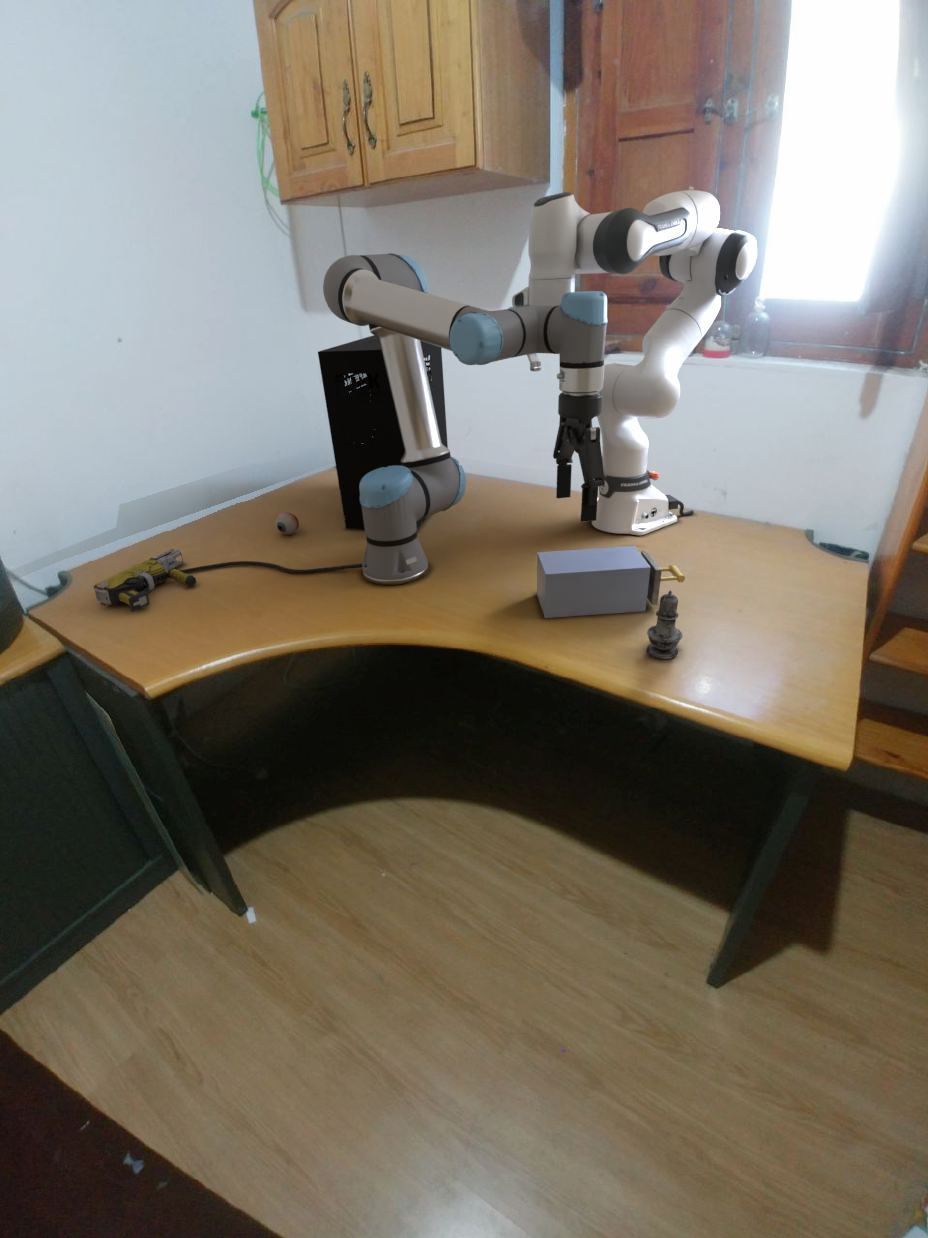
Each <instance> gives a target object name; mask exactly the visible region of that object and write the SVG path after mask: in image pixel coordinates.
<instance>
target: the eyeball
mask: <svg viewBox="0 0 928 1238" xmlns="http://www.w3.org/2000/svg"><path fill="white" fill-rule="evenodd" d="M299 525H300V522H299V519H298V517H297V516H296V515H295V514H294V513H292V512H287V511H286V512H282V513H280V514H279V515H278V516H277V517H276V520H275V527H276V529H277V530H278V531H279V532H280V533H281V534H282V535H285V536H286V535H287V536H289V535H293V534H295V533H296V532H297V531H298V529H299Z"/></svg>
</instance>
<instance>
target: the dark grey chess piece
mask: <svg viewBox="0 0 928 1238" xmlns="http://www.w3.org/2000/svg"><path fill="white" fill-rule="evenodd" d="M678 604H679V599H678V597H677V595H675V594H673V591H672V590H671V589H670V590H669V591H668V592H667V593H666V594H663V595H661V597H660V600H659V605H658V607H659V608H658V610H657V611H656V612H655V616H656V617H657V619H656V624H655V625H651V626H650V627H649V628H648V629H647V631H646V634H647V636H648V640H649V642H650V643H649V644H648V645H647V647H646V651H647V653H648V654H649V655H651V656H652V657H654V658H657V659H661V660H669V659H674V658H675V657H677V656H678V655H679V650H678V648H677V646H678V644H679V643H680V641H681V640H682V638H683V633H682V631H681V630H680V629H678V628H677V627H676V621H677V619H678V618H679V613H678V611H677V610H678Z"/></svg>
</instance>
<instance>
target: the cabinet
mask: <svg viewBox="0 0 928 1238" xmlns="http://www.w3.org/2000/svg"><path fill="white" fill-rule="evenodd" d="M536 558H537V559H536V597H537V598H538V602H539V605H540V608H541V611H542V613H543V614H542V615H543V617H544V619H551V618H552V619H554V618H555V619H556V618H568V617H581V616H582V617H583V616H594V615H595V616H597V615H612V614H624V613H625V614H626V613H640V612H646V609H647V601H648V599H647V594H648V585H649V576H650V568H651V567H650V566H649V565H648V563H647V562H646V561H645V559H644V558H643V557H642V555H641V552H640V551H639V550H638V549H637V548H636V546H635V545H625V546H613V547H599V548H598V547H597V548H585V549H583V548H582V549H570V550H569V549H567V550H554V551H539V552H537V553H536Z"/></svg>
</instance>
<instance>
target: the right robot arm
mask: <svg viewBox="0 0 928 1238" xmlns="http://www.w3.org/2000/svg"><path fill="white" fill-rule="evenodd" d="M720 210H721V209H720V204H719V202H718V200H717V198H716V197H715V196H714V195H713V194H712V193H710V192H708V191H704V190H695V189H687V190H679V191H673V192H672V191H671V192H669V193H667V194H663V195H660V196H658V197H656V198H654V199H653V200H651V201H649V202H648V203H647V204H646V205H645V207H644V208H643V209H642V211H641V210H639V209H636V208H633V207H626V208H621V209H618V210H614V211H609V212H601V213H593V214H591V213H590V212H588V211H587V210H585V209H584V208H582V207H581V206H580V205H579V204H578V202H577V201H576V199H575V195H574V193H572V192H569V191H568V192H559V193H555V194H552V195H551V194H550V195H545V196H543V197H541V198H539V199H536V201H535V202H534V203H533V205H532V207H531V212H530V216H529V224H528V225H529V226H528V245H527V247H528V248H527V249H528V250H527V251H528V258H529V262H530V269H529V273H528V282H527V283H528V284H527V285H528V286H526V287H524V288H523V289H522V290H520V291H518V292H517V293H515V294H514V295H512V297H511V304H512V307H513V306H520V305H530V306H559V305H560V304H561V298H562V296H563V294H565V293H568V292H576V275H587V274H589V275H590V274H593V275H594V274H619V275H626V274H629V273H631V272H633V271H635V270H636V269H637V268H638V267H639V266H640V265H641V264H643V263H644V261H645V260H647V258H649V257H650V256H656V257H658V265H659V270H660V273H661V275H662V276H663V277H664V278H666V279H668V280H669V281H673V282H675V283H677V282H681V283H684V285H683V289H682V290H681V292H680V294H679V295H677V297H676V298H675V299H674V300H673V301H671V303H670V304H669V305H668V307H666V308H665V310H664V311H663V312H662V313H661V314H660V316H659V317H658V318H657V319H656V321H655V322H654V323H653V324H652V326H651V327H650V329H649V330H648V331H647V332H646V333H645V335H644V336H643V339H642V343H641V344H642V345H641V347H642V353H643V356H644V357H643V359H642V360H640V362H639V363H638V364H635V365H631V364H622V363H607V364H604V380H603V388H602V390H600V391H599V392H600V393H601V394H602V407H601V414H600V415H599V416H597V417H596V418H597V422H598V425H599V427H600V436H601V441H602V442H601V443H602V444H601V445H602V446H601V453H602V462H603V471H604V479H605V485H604V486H598V500H597V516H596V520H595V521H591V525H592V526H593V527H594V528H595V529H597V530H599V531H601V532H605V533H611V534H623V535H625V534H626V535H632V536H633V535H634V536H645V535H646V534H650V533H652V532H654V531H657V530H660V529H662V528H665V527H668V526H670V525H672V524H675V523H677V522H678V516H677V515H676V514H675V513H674V512H672V511H670V510H677V509H679V511H678V513H679V515H680V516H682V517H687V516H690V515H694V510H693V509H691V510H688V511H686V512H684V508H685V504H684V503H683V502H682V501H680V500H679V499H677V498H676V497H674V496H673V495H671V494H664V493H663V492H661V491H660V490H659V489H658V488H656V487H655V486H654V485H652V483H651V480H653V481H658V479H659V478H660V473H659V472H657V471H654V470H651V471H649V470H648V469H647V466H648V458H649V457H648V456H649V447H650V442H649V437H648V435H647V434H646V433H645V432H644V431H643V429H642V428H641V426H640V423H639V421H638V419H643V420H651V419H663V418H666V417H668V416H669V415H670V414H672V413H673V411H674V410H675V409H676V407H677V405H678V403H679V401H680V397H681V385H680V381H679V378H678V376H679V375H678V374H679V371H680V369H681V368H682V365H683V364H684V362H685V361H686V360H687V359H688V357H689V356H690V355H691V354H692V352H693V351H694V350H695V348H696V346H698V344H699V343H700V342H701V341H702V339H703V338H704V336H705V335H706V334H707V332H708V331H709V329H710V328H711V326H712V324H713V323H714V321H715V320H716V317H717V316H718V313H719V311H720V309H721V307H722V306H721V305H722V301H721V300H722V299H721V297H726V296H729V295H731V294H732V293H733V292H734V291H735V290H736V288H738V287H739V286H741V285H742V283H743V282H744V281H746V279H747V278H748V277H749V276H750V275H751V273H752V271H753V269H754V268H755V265H756V263H757V262H756V261H757V258H758V245H757V240H756V238H755V236H753V235H752V234H750V233H748V232H746V231H742V230H735V231H734V230H729V229H724V228H717V227H718V225H719V221H720V216H721V211H720ZM526 357H527V359H528V362H529V370H530V372H536V373H537V372H540V371H541V370H542V367H541V366H542V362H541V361H540V360H539V357H538V353H533V354H528V355H526Z"/></svg>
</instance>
